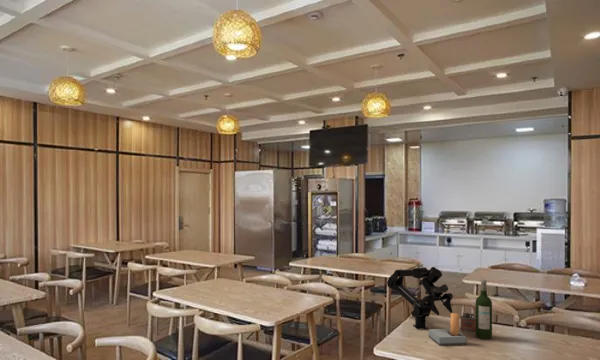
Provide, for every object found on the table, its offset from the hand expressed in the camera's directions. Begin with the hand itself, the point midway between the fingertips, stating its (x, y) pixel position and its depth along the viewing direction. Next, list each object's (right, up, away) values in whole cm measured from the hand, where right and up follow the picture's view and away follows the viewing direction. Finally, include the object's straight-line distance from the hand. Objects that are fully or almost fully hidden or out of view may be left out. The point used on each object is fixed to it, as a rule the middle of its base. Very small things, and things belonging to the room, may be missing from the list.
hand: (445, 313), depth 214 cm
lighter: (+16, -13, +11) cm, 24 cm away
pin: (+3, -11, -6) cm, 13 cm away
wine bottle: (+21, -13, +1) cm, 25 cm away
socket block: (-1, -13, -4) cm, 13 cm away
